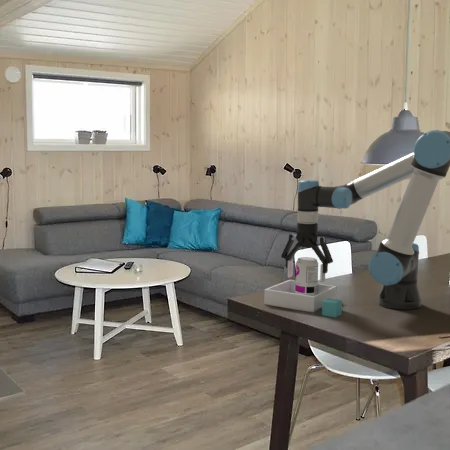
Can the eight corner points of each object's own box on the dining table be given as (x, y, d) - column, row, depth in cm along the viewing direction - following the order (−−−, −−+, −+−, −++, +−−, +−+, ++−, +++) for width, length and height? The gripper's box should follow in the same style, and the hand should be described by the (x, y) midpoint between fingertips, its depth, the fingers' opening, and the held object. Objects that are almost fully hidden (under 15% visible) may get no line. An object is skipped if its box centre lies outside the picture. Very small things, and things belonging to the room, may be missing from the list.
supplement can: (294, 300, 232) (295, 260, 230) (296, 295, 240) (297, 256, 238) (316, 302, 231) (317, 261, 229) (317, 296, 239) (318, 257, 237)
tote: (336, 300, 235) (336, 286, 235) (313, 312, 219) (314, 297, 218) (289, 293, 246) (289, 279, 245) (264, 304, 230) (264, 289, 229)
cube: (341, 314, 217) (341, 300, 217) (335, 317, 213) (336, 303, 213) (327, 312, 220) (328, 298, 219) (322, 315, 216) (322, 301, 215)
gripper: (343, 223, 228) (341, 281, 231) (282, 218, 242) (281, 273, 244) (334, 226, 222) (332, 285, 225) (272, 220, 235) (271, 277, 238)
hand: (306, 279), depth 235 cm, fingers open, 13 cm apart
